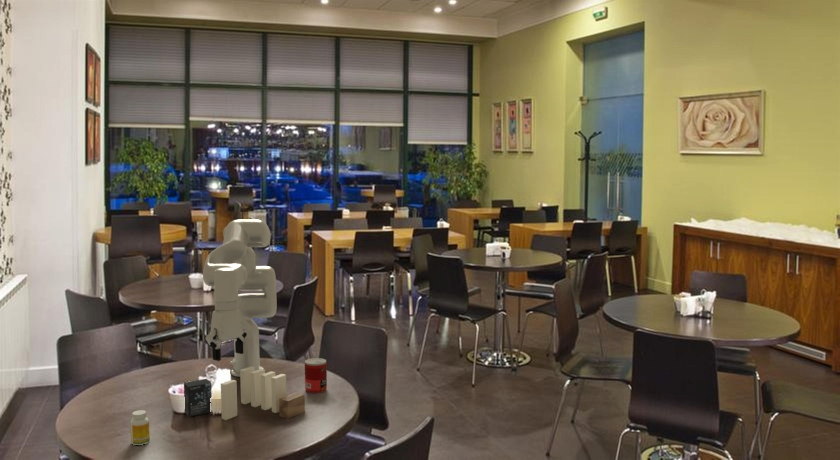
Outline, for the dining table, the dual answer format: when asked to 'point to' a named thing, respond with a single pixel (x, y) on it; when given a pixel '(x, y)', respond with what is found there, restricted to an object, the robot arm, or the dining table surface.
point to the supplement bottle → (139, 428)
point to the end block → (291, 405)
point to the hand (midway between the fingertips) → (228, 356)
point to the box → (197, 397)
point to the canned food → (315, 375)
